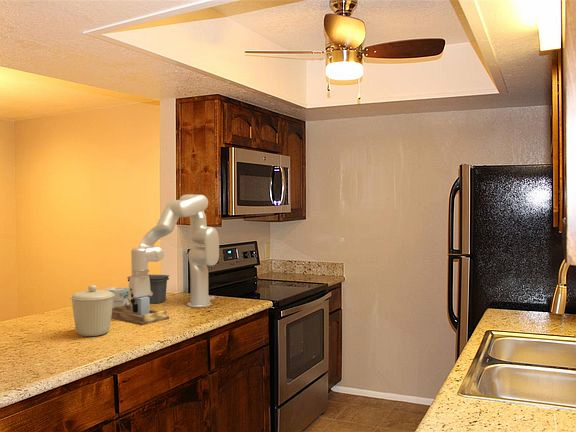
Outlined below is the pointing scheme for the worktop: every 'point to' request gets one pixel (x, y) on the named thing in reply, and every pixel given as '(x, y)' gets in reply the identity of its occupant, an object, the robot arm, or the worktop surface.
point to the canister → (92, 311)
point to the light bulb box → (119, 296)
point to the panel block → (142, 306)
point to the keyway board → (125, 315)
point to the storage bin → (157, 287)
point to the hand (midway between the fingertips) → (140, 310)
